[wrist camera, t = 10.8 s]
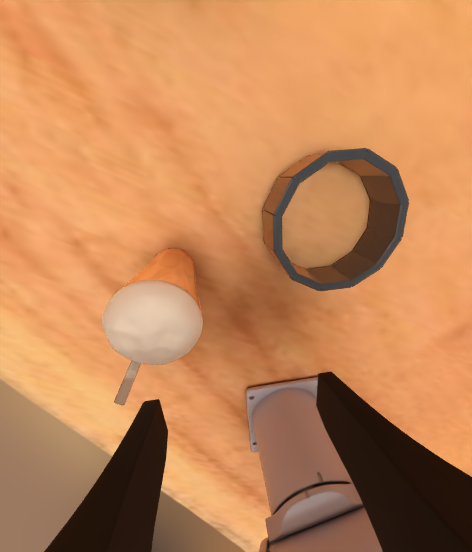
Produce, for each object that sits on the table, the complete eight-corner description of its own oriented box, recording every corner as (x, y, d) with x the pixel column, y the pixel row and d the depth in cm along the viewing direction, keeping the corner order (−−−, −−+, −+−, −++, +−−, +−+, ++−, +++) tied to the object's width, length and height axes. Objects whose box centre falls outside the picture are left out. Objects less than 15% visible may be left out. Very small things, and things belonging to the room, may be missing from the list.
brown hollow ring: (368, 267, 21) (394, 282, 18) (264, 280, 20) (274, 297, 17) (384, 149, 18) (420, 143, 15) (260, 159, 17) (272, 155, 14)
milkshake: (130, 288, 19) (62, 389, 10) (157, 228, 18) (107, 282, 9) (183, 310, 20) (167, 417, 11) (213, 255, 19) (221, 328, 10)
